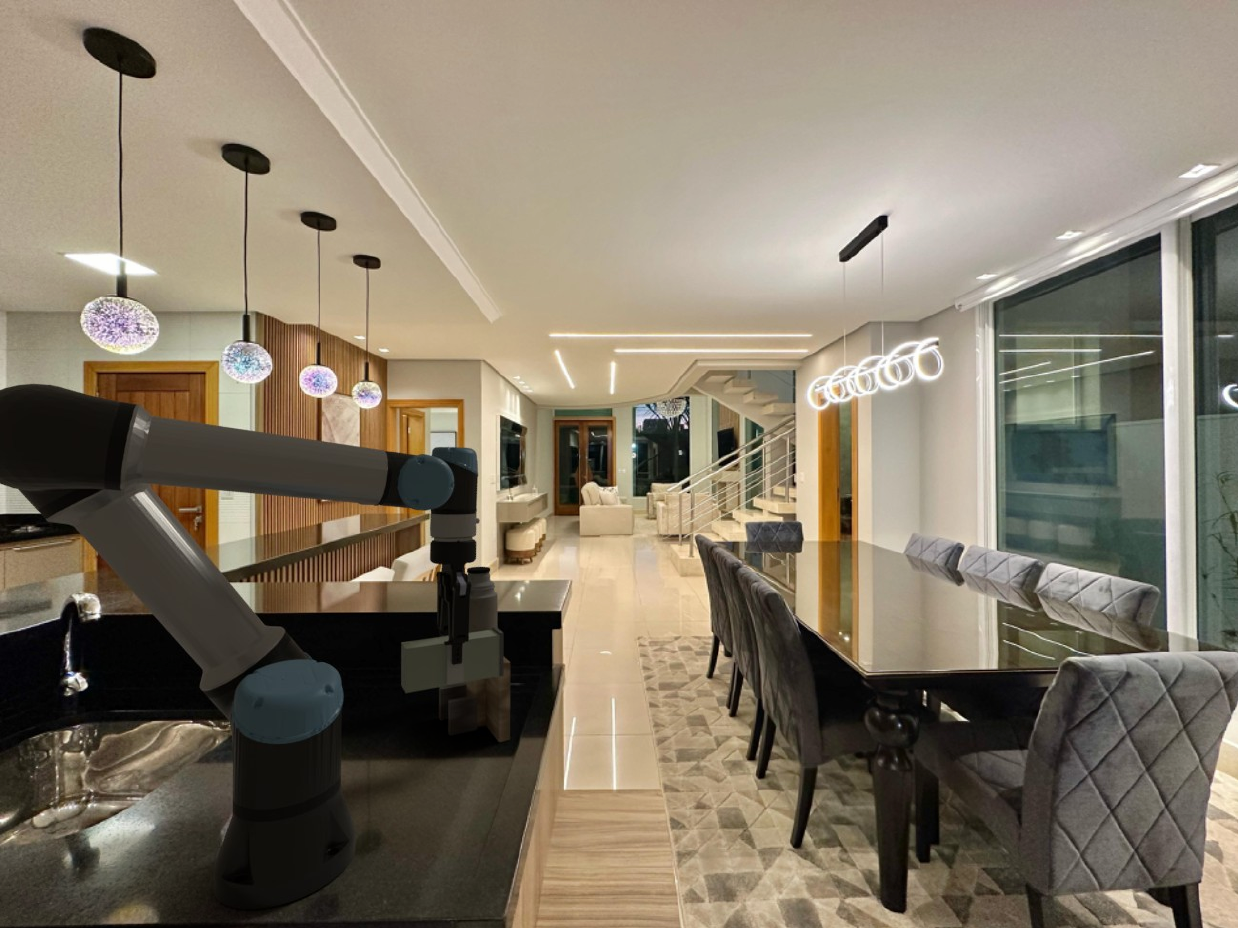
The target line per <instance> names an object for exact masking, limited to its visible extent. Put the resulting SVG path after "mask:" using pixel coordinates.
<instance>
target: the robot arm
mask: <svg viewBox="0 0 1238 928" xmlns="http://www.w3.org/2000/svg"><path fill="white" fill-rule="evenodd" d="M478 463H479V462H478V455H477V452H476V450H475V449H473V448H471V447H463V446H461V447H459V446H451V447H450V446H437V447H434V448H433V449H432V451H431V455H429V454H424V453H423V454H422V453H419V454H411V453H404V452H398V451H387V450H384V449H378V448H369V447H364V446H356V445H351V444H350V445H349V444H344V443H337V442H331V441H324V440H318V439H310V438H302V437H296V436H290V435H282V434H275V433H270V432H269V433H268V432H263V431H255V430H250V429H249V430H248V429H244V428H243V429H241V428H237V427H236V428H235V427H228V426H223V425H222V426H221V425H216V424H215V425H214V424H208V423H203V422H196V421H189V420H184V419H183V420H182V419H175V418H169V417H162V416H156V415H155V416H154V415H152V414H150V413H149V412H148V411H147V409H146V408H145V407H143V405H142V404H136V403H130V402H124V401H118V400H114V399H113V400H112V399H108V398H103V397H99V396H95V395H89V394H85V393H82V392H80V391H75V390H72V389H69V388H65V387H62V386H58V385H52V384H44V383H43V384H42V383H27V384H26V383H25V384H18V385H12V386H8V387H4V388H2V389H0V485H3V486H6V487H8V488H11V489H15V490H16V489H17V490H18V492H20V493H21V494H22V495H23V496H24V497H25V498H26V500H27V501H28V502H29V503H30V504H31V505H32V506H33V507H34V509H36V510H37V512H38V513H39V514H40V515H41V516H42V517H43V518H44V519H45V520H46V522H48V523H55V524H62V525H63V524H64V525H70V526H71V527H73V528H74V529H76V531H77V532H78V533H79V534H80V535H81V536H82V537H83V538H84V540H86V542H87V543H88V544H89V545H90V546H91V548H92V549H93V550H94V551H96V553H97V554H98V555H99V556H100V557H101V559H102V560H104V561H105V563H106V564H107V565H108V566H109V567H110V568H111V569H112V570H113V572H114V573H115V574H116V575H117V576H118V577H119V579H120V580H121V581H122V582H123V583H124V584H125V585H126V587H127V588H129V589H130V591H131V592H132V593H133V594H134V595H135V596H136V597H137V598H138V599H139V600H140V603H141V602H142V604H143V605H144V606H145V607H146V609H147V610H148V611H149V612H150V613H151V614H152V615H153V616H154V617H155V619H156V620H158V622H159V623H160V624H161V625H162V626H163V627H164V629H165V630H166V631H167V632H168V633H169V634H170V635H171V636H172V637H173V638H174V640H175V641H176V642H177V643H178V644H179V645H180V646H181V647H182V648H183V649H184V651H185V652H186V653H187V654H188V655H189V657H191V658H192V660H194V662H195V663H196V664H197V665H198V666H199V667H200V668H201V669H202V675H201V678H200V682H199V683H200V684H199V688H200V690H201V691H202V692H203V694H205V696H206V697H207V698H208V699H209V700H210V701H211V702H212V704H213V705H215V707H216V708H217V709H218V710H219V711H220V713H222V714H223V715H224V716H225V717H226V718H227V720H228V721H229V724H230V732H231V733H230V734H231V740H232V813H231V818H230V821H229V823H228V827H227V829H226V832H225V834H224V838H223V840H222V843H221V846H220V847H219V852H218V854H217V857H216V860H215V862H214V866H213V867H214V868H213V881H212V882H213V883H212V885H213V888H212V889H213V894H214V897H216V899H217V900H218V902H220V903H222V905H225V906H227V907H230V908H233V909H237V910H259V909H260V910H261V909H262V910H263V909H268V908H273V907H276V906H277V907H278V906H282V905H285V904H288V903H292V902H294V901H297V900H299V899H302V898H304V897H306V896H307V897H308V895H311V894H313V893H315V892H316V891H318V890H320V889H322V888H324V887H325V886H326V885H328V884H330V882H332V881H334V880H335V879H336V878H337V877H338V876H340V874H341V873H342V872H344V871H345V870H346V868H347V867H348V866H349V865H350V863H351V861H352V859H354V855H355V852H356V827H355V824H354V821H353V818H352V815H351V813H350V810H349V808H348V805H347V802H346V799H345V797H344V794H343V791H342V780H341V779H342V730H343V729H342V725H343V723H342V717H343V715H342V713H343V704H344V697H345V695H344V690H343V689H344V688H343V686H342V678H341V675H340V673H339V671H338V670H337V669H336V668H335V667H334V666H333V665H331V664H329V663H326V662H323V661H319V662H318V661H317V660H315V659H313V658H312V657H311V656H310V655H309V653H307V652H304V651H303V649H301V647H300V646H299V645H298V644H297V642H295V640H294V639H293V637H292V636H291V635H289V633H288V632H287V630H286V629H285V628H284V627H282V626H275V625H274V626H269V625H266V624H265V623H263V621H262V620H261V619H260V617H259V616H258V615H257V613H255V611H254V610H253V609H252V608H251V607H250V605H249V604H248V603H247V602H246V600H245V599H244V598H243V597H242V595H240V593H239V591H237V590H236V589H235V587H234V586H233V585H232V584H231V582H230V581H229V580H228V579H227V578H226V576H224V573H222V571H221V570H220V569H219V568H218V567H217V566H216V564H215V563H214V561H212V559H210V557H209V556H208V555H207V554H206V552H205V551H204V550H203V548H202V547H201V546H200V545H199V544H198V543H197V541H196V540H195V539H194V538H193V536H192V535H191V534H190V533H189V532H188V530H187V529H186V528H185V527H184V525H182V523H181V522H180V521H179V519H178V518H177V517H176V516H175V515H174V513H173V512H172V511H171V510H170V508H169V507H168V506H167V505H166V504H165V502H163V500H162V499H161V498H160V496H159V495H158V494H157V493H156V492H155V491H154V490H153V489H154V488H152V486H151V485H157V486H167V487H169V486H170V487H179V488H189V489H200V490H209V491H211V490H212V491H222V492H223V491H224V492H231V493H232V492H233V493H234V492H235V493H245V494H255V495H265V496H266V495H267V496H277V497H286V498H287V497H288V498H297V499H311V500H318V501H319V500H321V501H330V502H342V503H343V502H344V503H352V504H353V503H354V504H359V505H361V506H364V505H365V506H374V507H378V506H381V507H393V508H402V509H404V508H405V509H412V510H414V511H422V512H423V511H424V512H425V511H430V515H429V516H430V517H429V518H430V521H429V523H430V524H429V531H430V532H429V536H430V537H431V538H433V539H432V540H431V541H430V542H429V546H430V547H429V548H430V549H429V560H430V562H431V563H433V564H435V565H441V570H439V571H436V574H435V576H436V582H437V583H436V585H437V586H436V589H437V590H436V591H437V592H436V593H437V594H436V597H437V598H436V601H437V602H436V628H437V629H438V633H439V637H444V636H449V640H448V641H444V645H447V654H446V684H447V685H448V684H453V685H454V683H460V682H464V643H465V642H468V641H469V605H470V591H471V582H468V576H467V575H468V573H467V572H466V567H465V565H467V564H470V563H471V564H472V563H474V562H475V561H476V559H477V541H476V539H474V538H475V536H477V525H478V524H480V519H479V518H478V516H477V512H478V509H477V505H478V504H477V503H478V479H479V478H478V477H479V464H478ZM448 686H449V685H448Z"/></svg>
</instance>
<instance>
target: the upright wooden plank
mask: <svg viewBox="0 0 1238 928" xmlns="http://www.w3.org/2000/svg"><path fill="white" fill-rule="evenodd" d="M438 719H439V720H440V721H444V719H446V720H447V724H448V725H447V734H448V735H449V736H450V737H451V736H455V735H460V734H465V733H469V732H473V731H477V730H478V728H480V727H481V728H482V727H485V726H486V727H487V729H488V730H489V732H491V734H492V735H493V736H494V738H495V739H496V741H498V743H502V742H506V741H510V740H511V661H510V660H508V659H507V658H506V657H505V656H504V676H497V677H491V678H486V679H481V680H475V681H470V682H466V684H465V683H460V684H453V685H448V686H442V687H438Z"/></svg>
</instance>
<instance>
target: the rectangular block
mask: <svg viewBox="0 0 1238 928" xmlns="http://www.w3.org/2000/svg"><path fill="white" fill-rule="evenodd" d="M504 635H505V634H504V632H503V631H502V630H501V629H499V627H498V626H497V627H492V630H486V631H479V632H472V633H469V641H468V642H465V643H464V682H470V681H475V680H481V679H486V678H491V677H497V676H504V657H505V656H504V649H505V648H504V644H505V643H504V642H505V641H504V637H505V636H504ZM448 640H449V636H444V637H440V636H438V637H437V636H436V637H431V638H430V637H429V638H423V639H418V640H417V639H416V640H410V641H403V642H402V641H401V645H400V646H401V649H400V650H401V652H400V653H401V654H400V665H401V666H400V668H401V670H400V673H401V674H400V676H401V677H400V679H401V680H400V681H401V682H400V684H401V687H402V690H403V691H404V693H405V694H408V693H415V692H419V691H425V690H430V689H436V688H439V687H443V686H449V685H454V684H459V683H454V684H448V685H447V684H446V654H447V645H444V641H448ZM464 682H460V683H464Z"/></svg>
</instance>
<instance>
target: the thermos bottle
mask: <svg viewBox="0 0 1238 928" xmlns="http://www.w3.org/2000/svg"><path fill="white" fill-rule="evenodd" d="M466 573H467V576H468V582H471V591H470V605H469V633H472V632H479V631H486V630H492V627H497V628H498V608H499V607H498V600H499V599H498V598H499V597H498V592H496V591H495V588H496V586H495V583H494V581H493V580H491V574H490V573H491V567H489V566H473V567H468V568H466ZM464 683H465V684H466V682H464ZM459 684H460V683H459Z"/></svg>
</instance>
